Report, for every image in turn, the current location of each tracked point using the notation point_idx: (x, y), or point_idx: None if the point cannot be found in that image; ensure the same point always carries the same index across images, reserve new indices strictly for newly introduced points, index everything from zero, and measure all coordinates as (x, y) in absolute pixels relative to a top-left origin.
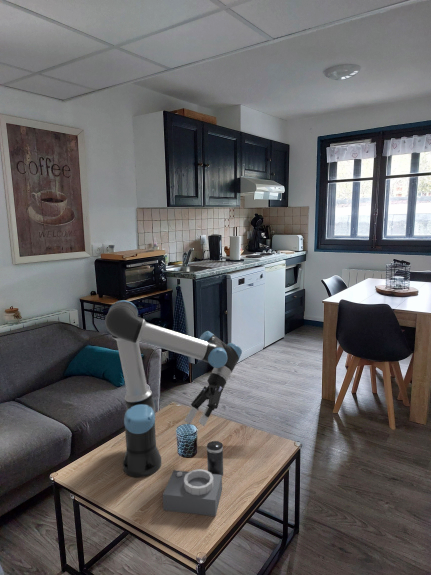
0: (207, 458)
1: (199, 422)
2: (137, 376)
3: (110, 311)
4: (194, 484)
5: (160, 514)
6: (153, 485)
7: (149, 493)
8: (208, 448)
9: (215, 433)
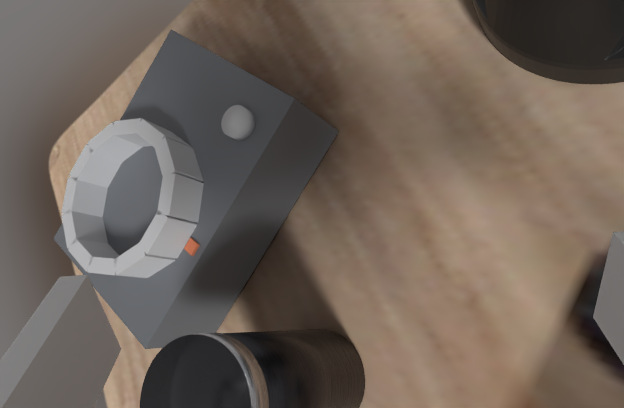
0: (266, 333)
1: (63, 284)
2: None
3: None
4: (155, 183)
5: None
6: (385, 30)
7: (339, 11)
8: (184, 335)
9: None
